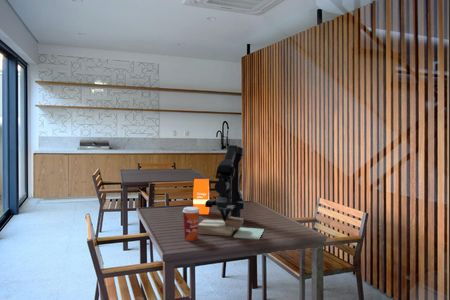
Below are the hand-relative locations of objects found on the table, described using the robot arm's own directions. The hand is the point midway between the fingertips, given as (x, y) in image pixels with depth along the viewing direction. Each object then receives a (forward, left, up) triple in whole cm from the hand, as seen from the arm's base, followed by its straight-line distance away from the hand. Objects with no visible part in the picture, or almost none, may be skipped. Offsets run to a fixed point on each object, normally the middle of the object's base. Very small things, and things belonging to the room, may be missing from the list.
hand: (225, 221), depth 176 cm
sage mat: (0, +12, -5) cm, 13 cm away
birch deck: (0, -4, -5) cm, 6 cm away
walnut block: (0, +5, -1) cm, 5 cm away
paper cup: (+15, -12, -5) cm, 20 cm away
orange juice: (-36, -23, -5) cm, 43 cm away
